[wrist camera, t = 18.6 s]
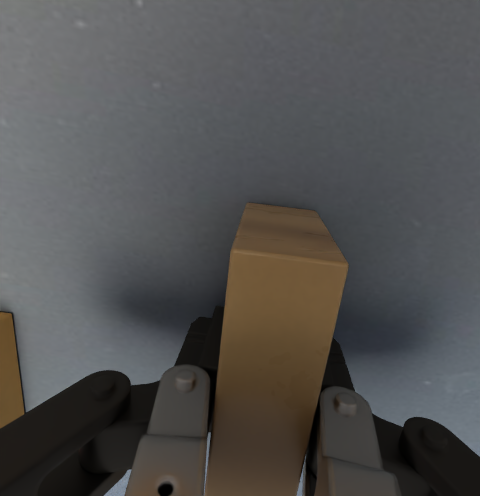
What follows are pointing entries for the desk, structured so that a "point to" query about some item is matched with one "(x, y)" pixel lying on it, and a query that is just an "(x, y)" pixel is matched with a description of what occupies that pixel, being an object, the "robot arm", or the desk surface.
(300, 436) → the cake knife
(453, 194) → the desk surface
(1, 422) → the cake
